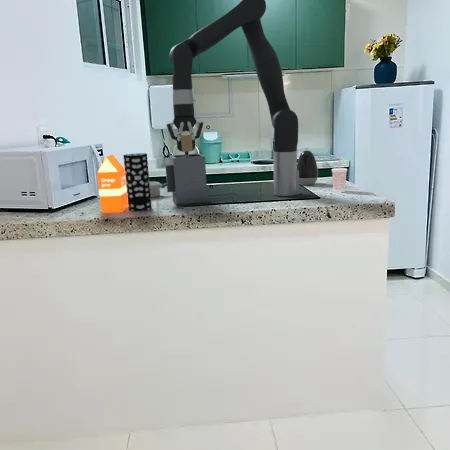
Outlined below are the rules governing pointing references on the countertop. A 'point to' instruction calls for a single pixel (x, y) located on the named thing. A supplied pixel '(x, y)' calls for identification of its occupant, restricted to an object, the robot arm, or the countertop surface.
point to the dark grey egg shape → (307, 168)
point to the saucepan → (156, 188)
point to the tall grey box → (187, 180)
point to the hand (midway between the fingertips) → (186, 150)
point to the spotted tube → (137, 182)
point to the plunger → (186, 144)
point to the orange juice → (112, 186)
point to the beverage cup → (339, 178)
